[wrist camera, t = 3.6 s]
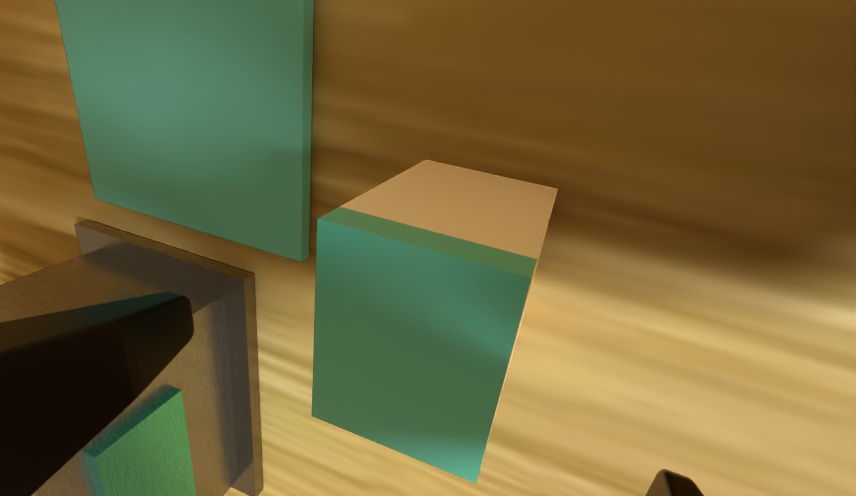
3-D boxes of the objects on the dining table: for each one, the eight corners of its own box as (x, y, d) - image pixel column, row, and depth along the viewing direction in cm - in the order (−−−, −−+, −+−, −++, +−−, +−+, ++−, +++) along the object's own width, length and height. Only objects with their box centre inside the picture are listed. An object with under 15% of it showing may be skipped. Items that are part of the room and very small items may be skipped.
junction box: (254, 273, 17) (27, 412, 10) (263, 488, 23) (118, 673, 16) (88, 219, 20) (-191, 303, 13) (132, 427, 25) (-45, 565, 18)
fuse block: (558, 188, 12) (531, 278, 7) (518, 332, 14) (475, 482, 9) (426, 159, 13) (317, 218, 8) (407, 297, 15) (311, 416, 10)
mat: (316, -163, 11) (305, -172, 11) (309, 256, 16) (301, 262, 16) (37, -170, 14) (18, -178, 13) (106, 195, 19) (95, 199, 18)
